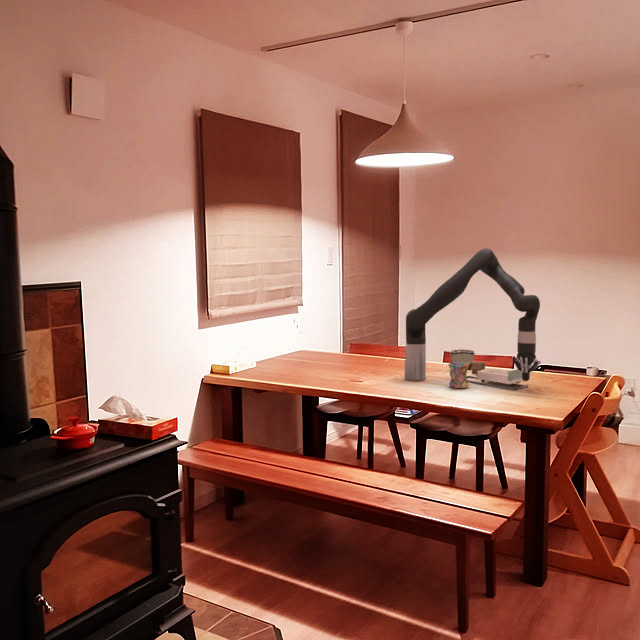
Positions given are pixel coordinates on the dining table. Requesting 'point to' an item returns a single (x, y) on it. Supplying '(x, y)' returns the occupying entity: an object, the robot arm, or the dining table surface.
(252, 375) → the dining table surface
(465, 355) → the food container
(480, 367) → the block
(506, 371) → the cart
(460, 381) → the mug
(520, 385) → the rails
